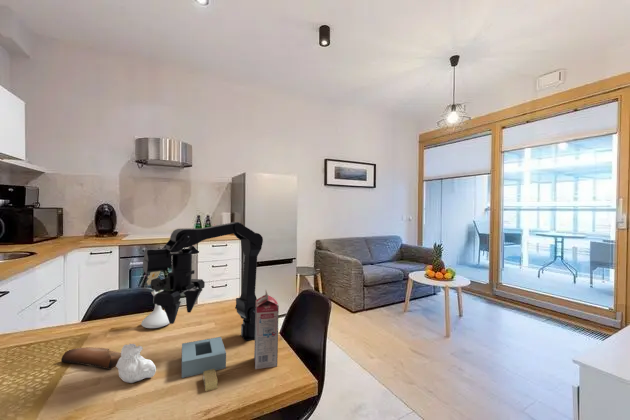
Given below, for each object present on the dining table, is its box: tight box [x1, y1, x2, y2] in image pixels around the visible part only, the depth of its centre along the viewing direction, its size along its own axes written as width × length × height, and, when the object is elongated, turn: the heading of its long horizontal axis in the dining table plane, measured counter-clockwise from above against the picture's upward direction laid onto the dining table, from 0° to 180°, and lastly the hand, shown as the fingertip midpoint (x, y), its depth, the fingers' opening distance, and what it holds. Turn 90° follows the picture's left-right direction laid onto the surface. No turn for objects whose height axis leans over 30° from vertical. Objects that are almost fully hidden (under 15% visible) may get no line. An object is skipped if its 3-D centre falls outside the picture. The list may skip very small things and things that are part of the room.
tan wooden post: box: [202, 369, 219, 393], centre depth 74 cm, size 3×6×2 cm, turn 27°
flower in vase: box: [140, 271, 170, 329], centre depth 111 cm, size 13×11×25 cm
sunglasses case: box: [61, 346, 121, 370], centre depth 84 cm, size 18×7×7 cm, turn 79°
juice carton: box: [253, 290, 279, 370], centre depth 85 cm, size 7×7×22 cm
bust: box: [115, 343, 157, 384], centre depth 75 cm, size 12×8×11 cm
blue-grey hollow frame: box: [181, 336, 227, 379], centre depth 84 cm, size 12×12×4 cm
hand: (180, 317), depth 85 cm, fingers open, 9 cm apart
